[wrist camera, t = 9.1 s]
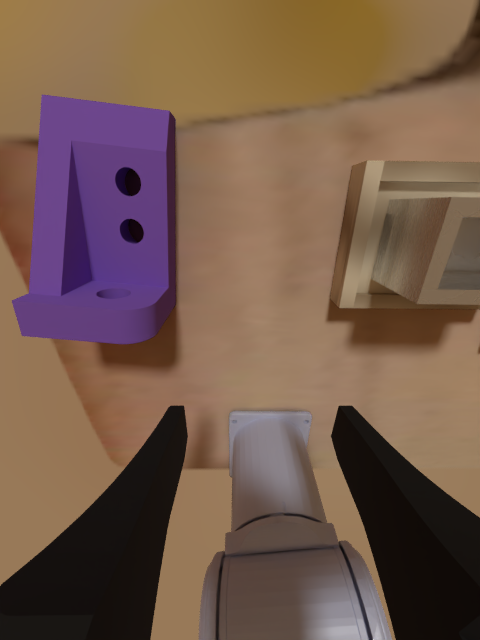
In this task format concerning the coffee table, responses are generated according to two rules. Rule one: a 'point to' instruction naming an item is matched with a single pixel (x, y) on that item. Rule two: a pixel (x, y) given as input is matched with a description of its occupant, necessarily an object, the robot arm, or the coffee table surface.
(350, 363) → the coffee table surface
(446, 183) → the beige shallow tray
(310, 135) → the coffee table surface
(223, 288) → the coffee table surface
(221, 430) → the coffee table surface
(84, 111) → the bracket
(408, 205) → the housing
